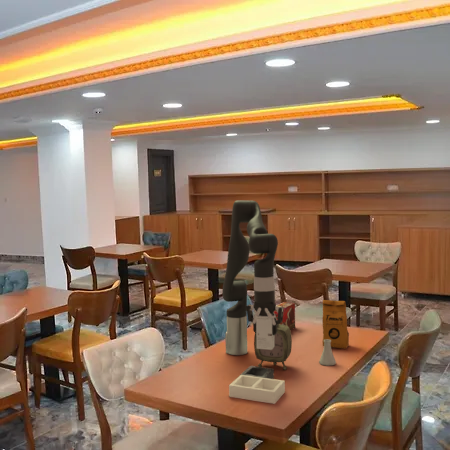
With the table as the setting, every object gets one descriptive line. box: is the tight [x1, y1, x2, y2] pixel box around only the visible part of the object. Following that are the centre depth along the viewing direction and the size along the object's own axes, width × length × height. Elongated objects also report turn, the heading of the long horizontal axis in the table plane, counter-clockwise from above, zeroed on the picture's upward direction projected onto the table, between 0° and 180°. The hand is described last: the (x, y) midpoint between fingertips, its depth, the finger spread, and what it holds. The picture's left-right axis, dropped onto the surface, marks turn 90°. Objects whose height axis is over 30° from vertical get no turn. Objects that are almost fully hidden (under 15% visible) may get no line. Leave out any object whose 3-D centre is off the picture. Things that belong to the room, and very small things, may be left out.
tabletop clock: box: [253, 309, 293, 371], centre depth 224 cm, size 14×9×25 cm, turn 70°
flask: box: [318, 339, 337, 367], centre depth 228 cm, size 7×7×10 cm
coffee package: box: [321, 299, 350, 350], centre depth 250 cm, size 10×12×22 cm
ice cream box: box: [274, 301, 296, 331], centre depth 277 cm, size 20×6×13 cm, turn 147°
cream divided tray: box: [228, 374, 286, 405], centre depth 196 cm, size 18×11×4 cm, turn 65°
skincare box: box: [256, 315, 275, 350], centre depth 195 cm, size 6×4×12 cm
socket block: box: [239, 365, 275, 379], centre depth 210 cm, size 10×11×4 cm
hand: (265, 333), depth 195 cm, fingers closed on skincare box, 6 cm apart
